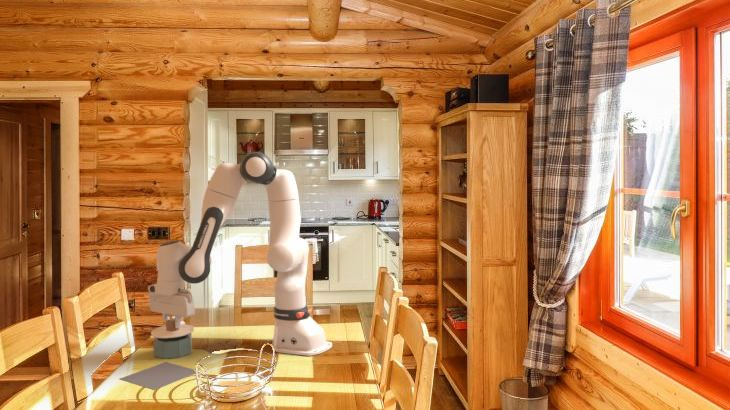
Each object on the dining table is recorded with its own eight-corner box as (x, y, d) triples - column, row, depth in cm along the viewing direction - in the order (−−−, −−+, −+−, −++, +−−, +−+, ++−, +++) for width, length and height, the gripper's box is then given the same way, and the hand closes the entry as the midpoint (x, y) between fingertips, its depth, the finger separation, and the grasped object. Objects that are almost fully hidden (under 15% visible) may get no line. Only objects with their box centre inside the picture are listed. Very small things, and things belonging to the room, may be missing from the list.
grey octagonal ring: (198, 351, 191) (198, 334, 191) (170, 361, 181) (169, 344, 180) (176, 346, 197) (175, 330, 197) (147, 355, 187) (147, 338, 187)
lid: (202, 329, 191) (201, 317, 190) (169, 340, 179) (168, 327, 179) (176, 324, 198) (175, 312, 198) (142, 334, 186) (142, 322, 186)
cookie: (213, 357, 186) (213, 354, 186) (201, 348, 196) (201, 346, 195) (246, 350, 193) (246, 347, 193) (232, 342, 203) (232, 339, 203)
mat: (200, 372, 171) (200, 371, 171) (154, 391, 156) (154, 389, 156) (165, 363, 180) (165, 361, 180) (118, 380, 165) (118, 378, 165)
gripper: (198, 288, 185) (200, 328, 186) (160, 283, 196) (161, 320, 196) (183, 292, 179) (185, 333, 180) (144, 286, 190) (146, 325, 191)
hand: (172, 326), depth 188 cm, fingers closed on lid, 3 cm apart
